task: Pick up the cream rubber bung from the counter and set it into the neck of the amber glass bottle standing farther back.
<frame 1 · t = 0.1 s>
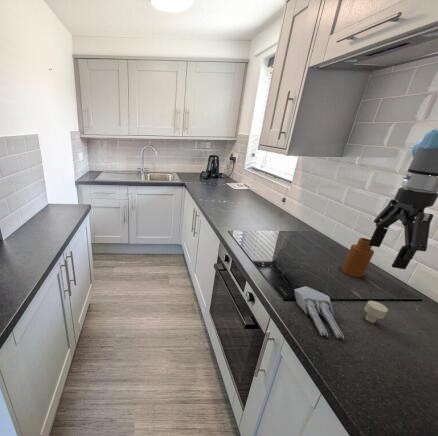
hand: (384, 256, 71), 22 cm above the worktop, tool pointing down, fingers open, 13 cm apart
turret: (315, 314, 78), on the worktop
bung: (370, 319, 76), on the worktop
bottle: (351, 272, 101), on the worktop
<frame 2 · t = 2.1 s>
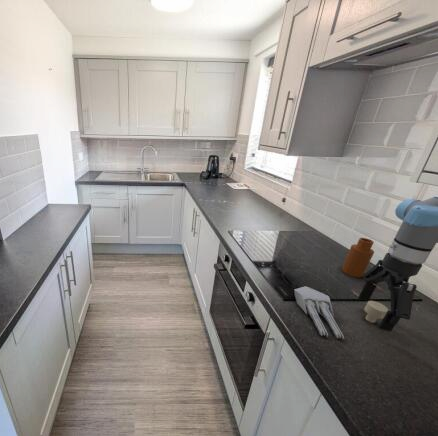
hand: (372, 313, 75), 3 cm above the worktop, tool pointing down, fingers open, 13 cm apart
nothing on the worktop moved.
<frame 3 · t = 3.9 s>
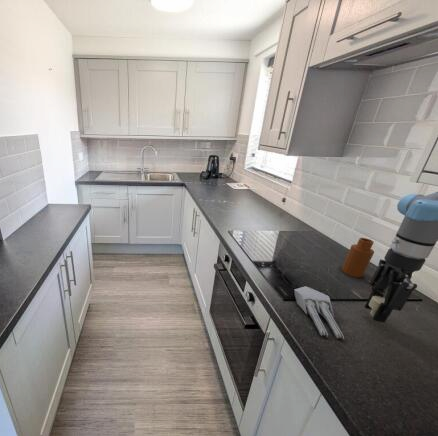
hand: (374, 314, 75), 3 cm above the worktop, tool pointing down, fingers closed on bung, 5 cm apart
bung: (374, 315, 75), point 2 cm above the worktop, touching gripper
everything else where it was.
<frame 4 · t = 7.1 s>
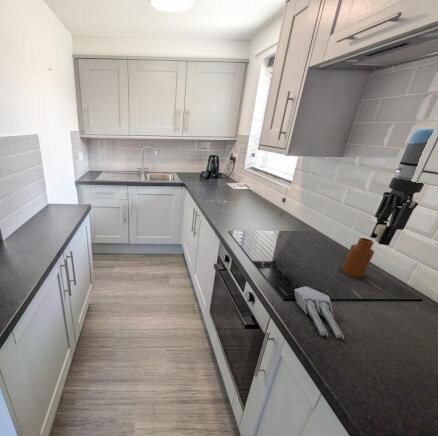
hand: (379, 240, 85), 21 cm above the worktop, tool pointing down, fingers closed on bung, 5 cm apart
bung: (379, 241, 85), point 20 cm above the worktop, touching gripper
everything else where it was.
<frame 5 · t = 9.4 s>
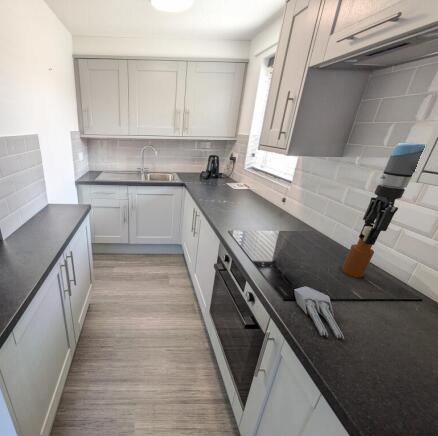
hand: (366, 240, 95), 16 cm above the worktop, tool pointing down, fingers closed on bung, 5 cm apart
bung: (366, 241, 95), point 15 cm above the worktop, touching gripper
everything else where it was.
when the fingers open (13 cm above the worktop, at t = 10.4 s): bung stays where it is, resting on bottle.
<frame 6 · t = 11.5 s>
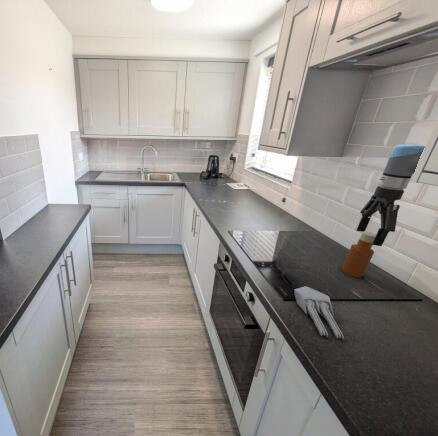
hand: (367, 237, 95), 17 cm above the worktop, tool pointing down, fingers open, 13 cm apart
bung: (364, 246, 96), point 13 cm above the worktop, touching bottle
everything else where it was.
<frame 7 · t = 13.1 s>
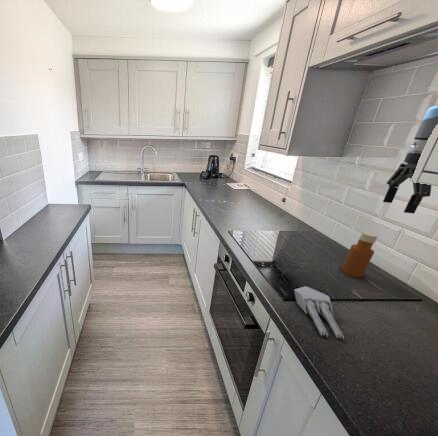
hand: (397, 207, 92), 30 cm above the worktop, tool pointing down, fingers open, 13 cm apart
nothing on the worktop moved.
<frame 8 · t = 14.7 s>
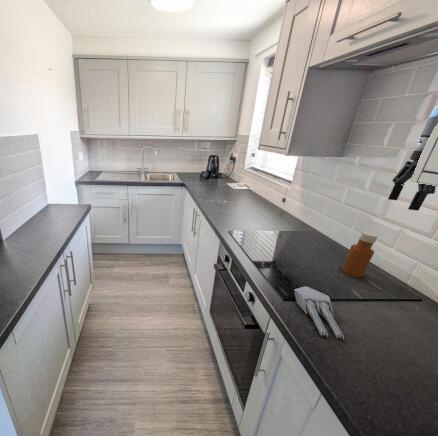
hand: (402, 204, 93), 31 cm above the worktop, tool pointing down, fingers open, 13 cm apart
nothing on the worktop moved.
at the end: bung 0.1 cm off-centre in the bottle, point 13.0 cm above the bottle's base; bung tilted 0°; the gripper is holding nothing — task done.
